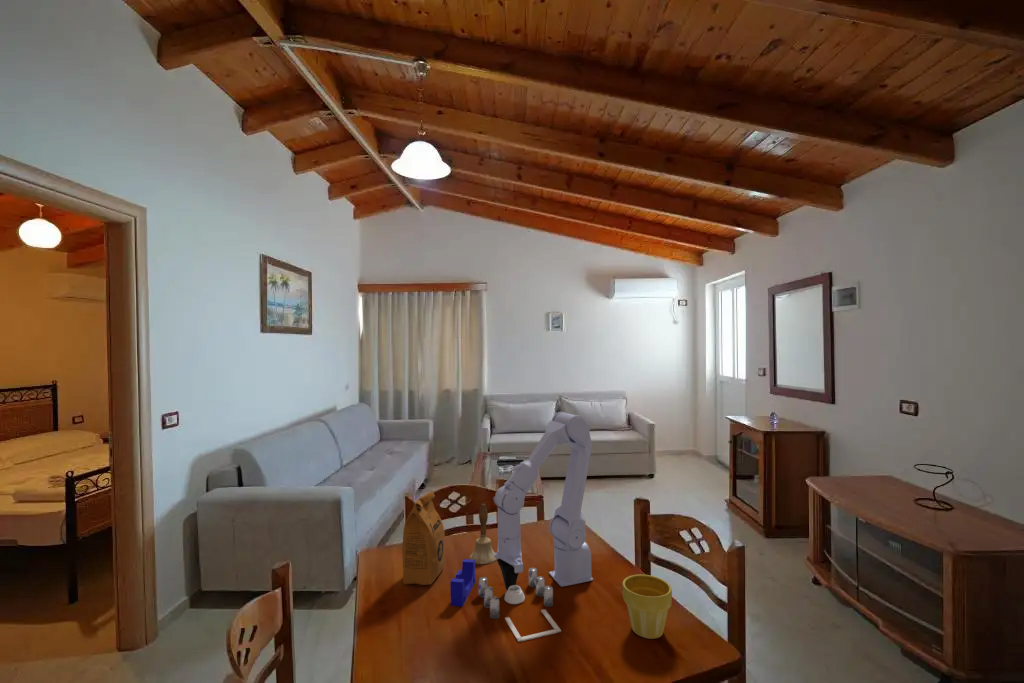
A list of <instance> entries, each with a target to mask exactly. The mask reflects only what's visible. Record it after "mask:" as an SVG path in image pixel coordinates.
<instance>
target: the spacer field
mask: <svg viewBox="0 0 1024 683" xmlns="http://www.w3.org/2000/svg"><path fill="white" fill-rule="evenodd" d="M477 579H478V580H477V581H478V583H477V584H478V597H480V598H483V606H484V608H489V617H490V619H492V620H497V619H499V618H500V597H498V596H494V588H493V587H492V586H490V585H488V577H486V576H480V577H479V578H477ZM545 582H546V581H545V577H544V576H542V575H541V576H540V575H539V576H538V569H537V568H536V567H529V568H528V586H529V587H530V588H535V595H536V596H537V597H539V598H540V597H543V606H544V607H546V608H552V607H553V606H554V589H553V586H552V585H545Z"/></svg>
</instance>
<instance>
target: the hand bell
mask: <svg viewBox="0 0 1024 683" xmlns="http://www.w3.org/2000/svg"><path fill="white" fill-rule="evenodd" d="M488 515H489V514H488V509H487V505H486V503H480V508H479V511H478V519H479V524H480V533H479V534H480V536H479V537H478V538H476V540H475V545H474V550H473V551H472V553H471V554H470V556H469V558H470V559H469V560H475V565H488V564H492V563H494V562H496V561H497V560H498V559H496V558H495V557H494V553H496V552H495V551H494V549H493V547H492V540H491V538H489V537H488V536H487V523H488V517H489V516H488Z"/></svg>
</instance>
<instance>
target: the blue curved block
mask: <svg viewBox="0 0 1024 683" xmlns="http://www.w3.org/2000/svg"><path fill="white" fill-rule="evenodd" d="M461 562H462V565H461V566H462V567H461V569H459V570H457V572H456V574H455V578H454V577H452V578H451V580H450V606H452V607H453V606H454V607H464V606H465V603H466V601H467V599H468V597H469V595H470V593H471V591H472V589H473V587H474V585H475V584H476V563H475V560H470V559H465V558H464V559H463V560H462V561H461Z"/></svg>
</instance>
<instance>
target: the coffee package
mask: <svg viewBox="0 0 1024 683" xmlns="http://www.w3.org/2000/svg"><path fill="white" fill-rule="evenodd" d="M435 497H436V495H435V493H434V492H433V491H432V490H431V491H430V492H427V493H426V494H423V495H422V496H421V497H419V498H418V499H417V500H416V502H415V503H414V505H413V507H412V509H411V510H410V512H409V515H408V516H407V517H406V520H405V522H404V525H403V532H402V533H403V535H402V550H401V552H402V570H403V571H402V574H403V576H402V577H403V581H402V582H403V583H402V584H404V585H413V584H417V585H419V586H420V585H421V586H427V585H432V584H433V582H434V581H435V580H436V579H437V577H438V576H439V575H440V574H441V572H442V570H443V569H444V567H445V566H446V555H445V554H446V552H445V551H446V550H445V535H446V534H445V528H444V523H443V521H442V519H441V516H440V515H439V513H438V512H437V510H436V509H435V505H434V503H433V499H435Z"/></svg>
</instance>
